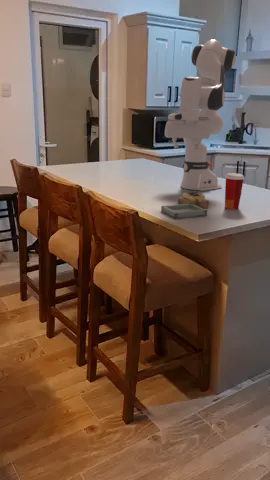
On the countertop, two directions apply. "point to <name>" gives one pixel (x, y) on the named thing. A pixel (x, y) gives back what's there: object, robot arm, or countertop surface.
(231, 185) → the coffee cup
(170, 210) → the tray
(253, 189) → the countertop surface
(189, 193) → the stake
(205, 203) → the stake base
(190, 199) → the ring
